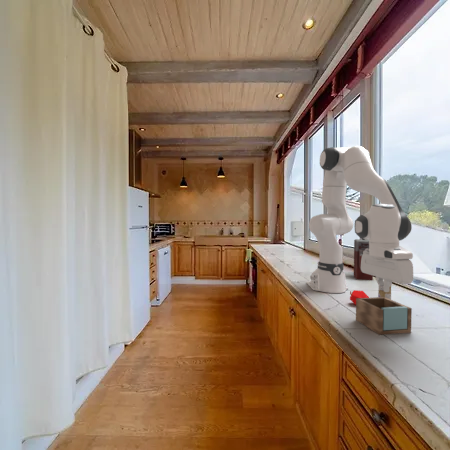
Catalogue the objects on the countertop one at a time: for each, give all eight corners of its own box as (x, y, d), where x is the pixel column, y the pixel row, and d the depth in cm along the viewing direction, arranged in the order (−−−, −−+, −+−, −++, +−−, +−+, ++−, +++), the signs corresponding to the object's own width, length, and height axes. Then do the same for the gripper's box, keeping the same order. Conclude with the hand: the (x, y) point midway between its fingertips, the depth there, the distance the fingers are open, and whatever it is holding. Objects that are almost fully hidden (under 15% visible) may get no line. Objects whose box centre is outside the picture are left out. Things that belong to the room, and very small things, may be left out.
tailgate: (380, 328, 85) (381, 307, 85) (404, 327, 86) (404, 306, 86) (383, 330, 84) (384, 308, 84) (407, 328, 85) (407, 307, 85)
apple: (372, 292, 112) (353, 283, 115) (371, 299, 107) (351, 290, 110) (365, 304, 115) (347, 296, 118) (364, 312, 109) (345, 303, 112)
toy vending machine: (356, 280, 154) (357, 232, 153) (353, 276, 165) (354, 231, 164) (373, 281, 151) (374, 233, 150) (369, 277, 162) (370, 232, 161)
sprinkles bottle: (374, 311, 104) (375, 278, 103) (385, 311, 104) (386, 277, 104) (382, 316, 99) (383, 281, 99) (394, 315, 100) (394, 280, 99)
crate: (355, 319, 96) (356, 298, 95) (384, 318, 97) (384, 296, 97) (379, 334, 84) (379, 310, 84) (411, 332, 85) (411, 308, 85)
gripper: (356, 248, 99) (356, 284, 100) (398, 254, 79) (399, 300, 79) (371, 247, 100) (371, 283, 100) (417, 254, 80) (417, 299, 80)
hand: (383, 291), depth 90 cm, fingers closed
